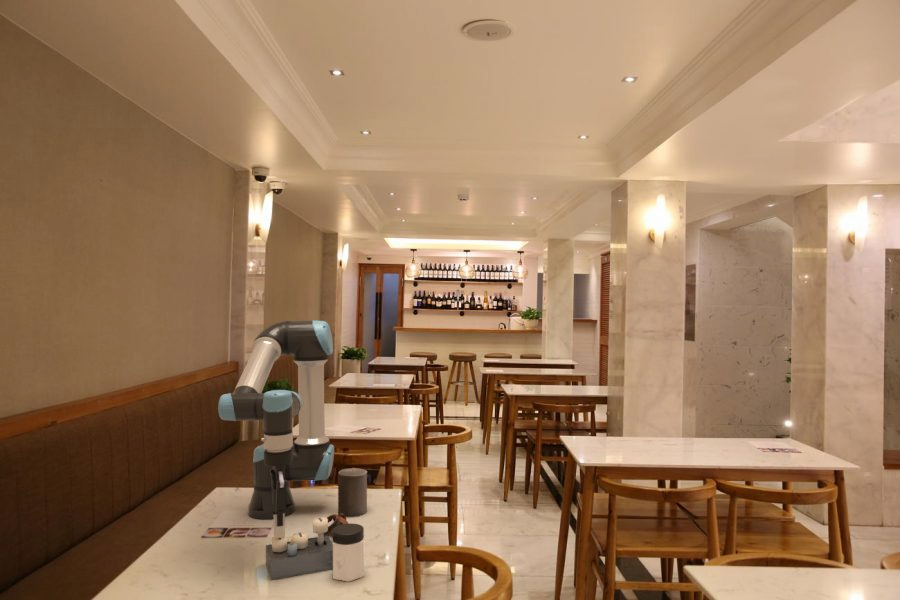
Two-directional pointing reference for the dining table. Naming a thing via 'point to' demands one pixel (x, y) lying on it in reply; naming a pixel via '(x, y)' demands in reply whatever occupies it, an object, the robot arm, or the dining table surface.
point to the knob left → (279, 544)
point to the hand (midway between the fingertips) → (279, 536)
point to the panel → (300, 559)
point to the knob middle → (301, 540)
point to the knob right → (320, 528)
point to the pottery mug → (335, 522)
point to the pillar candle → (352, 492)
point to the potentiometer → (292, 548)
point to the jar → (348, 552)
